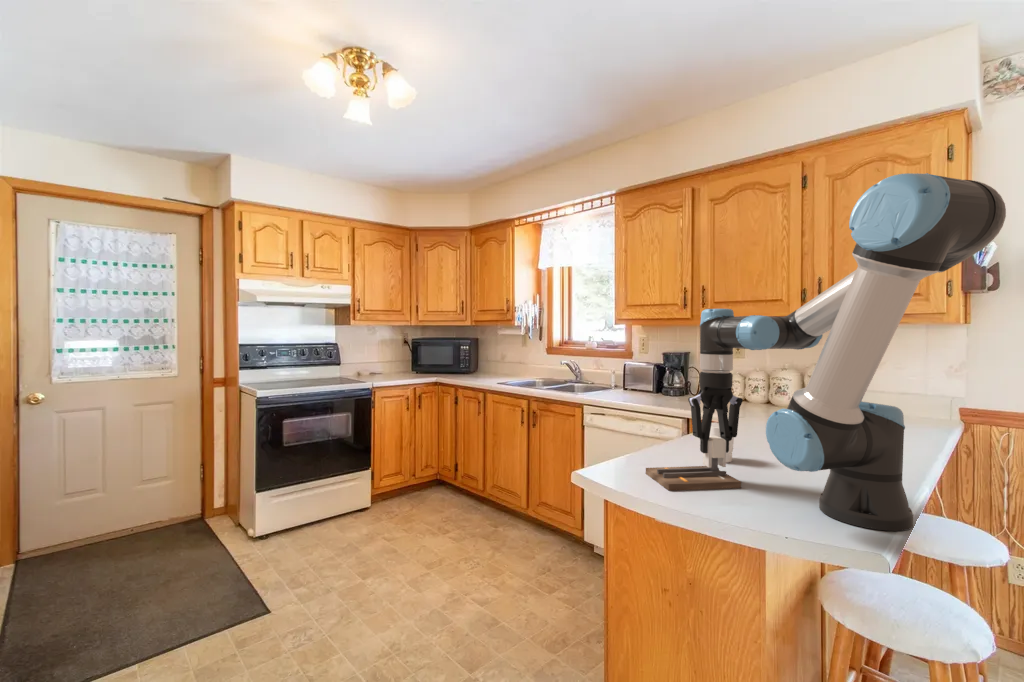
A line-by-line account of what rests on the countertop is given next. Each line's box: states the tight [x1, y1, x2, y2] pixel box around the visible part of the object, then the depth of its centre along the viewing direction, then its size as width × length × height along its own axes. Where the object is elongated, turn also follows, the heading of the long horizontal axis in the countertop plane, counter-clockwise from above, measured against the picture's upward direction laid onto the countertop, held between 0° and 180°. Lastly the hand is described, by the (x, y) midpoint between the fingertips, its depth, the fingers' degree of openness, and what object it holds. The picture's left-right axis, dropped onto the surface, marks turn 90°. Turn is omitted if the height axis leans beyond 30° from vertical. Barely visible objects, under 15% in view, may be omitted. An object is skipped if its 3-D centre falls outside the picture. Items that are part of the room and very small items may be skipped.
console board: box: [645, 465, 742, 492], centre depth 117 cm, size 13×18×2 cm
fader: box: [709, 436, 725, 471], centre depth 118 cm, size 4×3×8 cm
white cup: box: [710, 422, 735, 464], centre depth 136 cm, size 8×8×10 cm
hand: (714, 465), depth 118 cm, fingers closed on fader, 3 cm apart
